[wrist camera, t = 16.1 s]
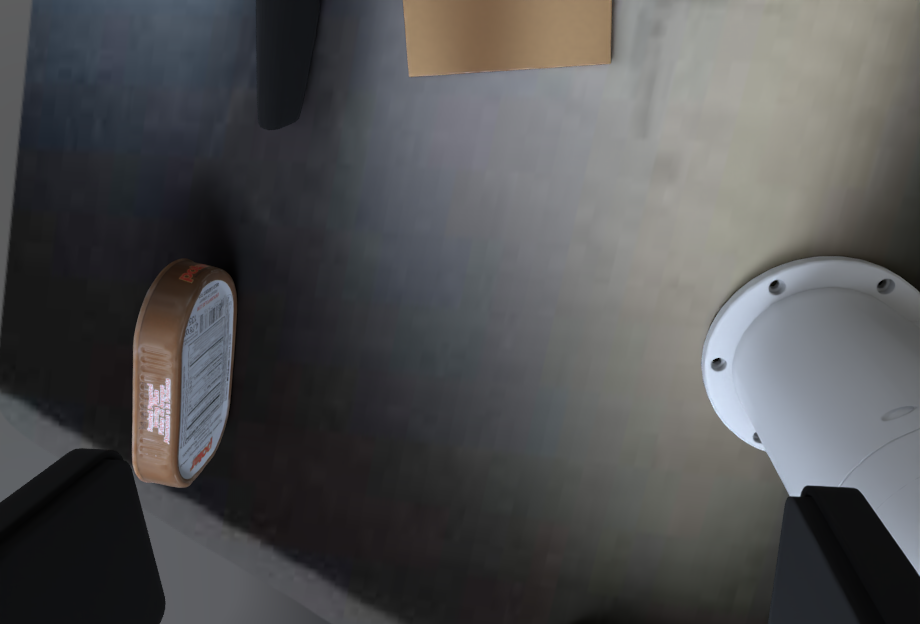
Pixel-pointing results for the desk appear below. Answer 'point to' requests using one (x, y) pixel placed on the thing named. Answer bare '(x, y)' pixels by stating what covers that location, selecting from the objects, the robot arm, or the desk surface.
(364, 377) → the desk surface
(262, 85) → the electric trimmer
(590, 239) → the desk surface
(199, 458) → the tin
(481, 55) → the wooden board
